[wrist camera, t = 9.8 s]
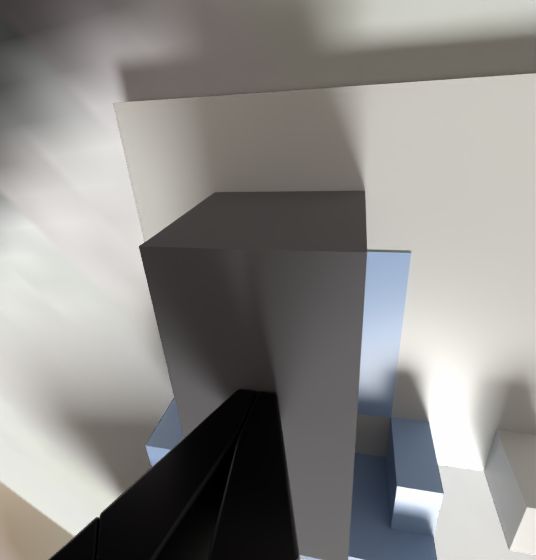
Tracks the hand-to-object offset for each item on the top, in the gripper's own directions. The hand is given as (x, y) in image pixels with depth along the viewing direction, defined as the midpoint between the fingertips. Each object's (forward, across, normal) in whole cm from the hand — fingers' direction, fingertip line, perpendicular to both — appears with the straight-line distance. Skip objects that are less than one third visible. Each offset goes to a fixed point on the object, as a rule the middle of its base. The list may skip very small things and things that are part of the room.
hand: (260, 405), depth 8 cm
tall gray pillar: (+4, 0, +1) cm, 4 cm away
